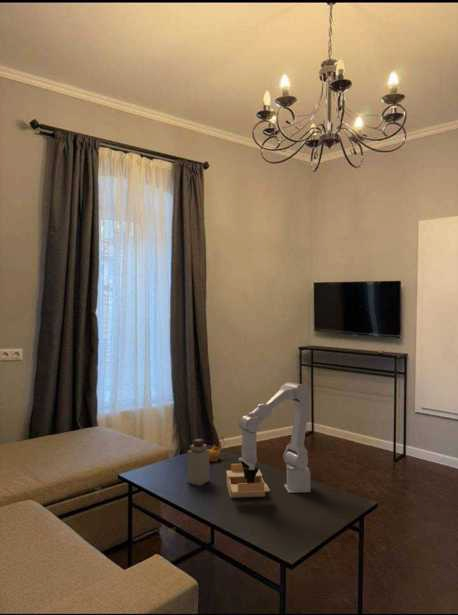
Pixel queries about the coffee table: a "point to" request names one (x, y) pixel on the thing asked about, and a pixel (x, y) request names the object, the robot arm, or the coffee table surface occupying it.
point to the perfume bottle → (198, 463)
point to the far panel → (238, 471)
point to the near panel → (249, 487)
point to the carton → (242, 480)
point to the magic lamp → (215, 451)
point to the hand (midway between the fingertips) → (248, 482)
